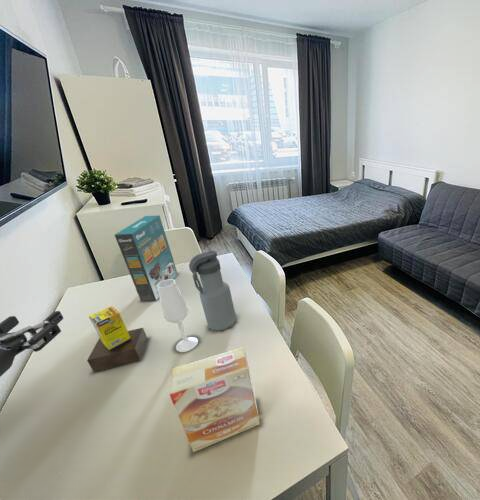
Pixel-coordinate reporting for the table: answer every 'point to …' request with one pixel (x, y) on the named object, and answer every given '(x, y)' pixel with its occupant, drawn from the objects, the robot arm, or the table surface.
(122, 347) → the block
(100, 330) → the supplement box
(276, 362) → the table surface
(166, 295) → the champagne flute
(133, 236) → the cake mix box
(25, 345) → the robot arm
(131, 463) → the table surface
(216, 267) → the water bottle
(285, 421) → the table surface
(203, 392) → the coffeecake box
